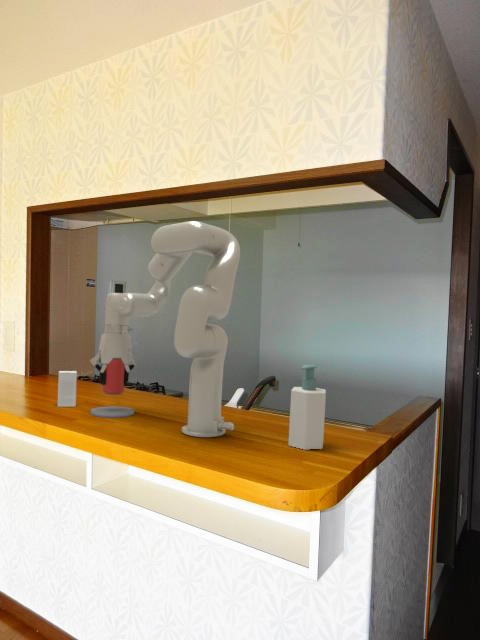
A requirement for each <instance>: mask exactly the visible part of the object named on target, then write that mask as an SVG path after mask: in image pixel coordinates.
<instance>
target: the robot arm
mask: <svg viewBox="0 0 480 640" xmlns="http://www.w3.org/2000/svg"><path fill="white" fill-rule="evenodd" d="M150 242H151V243H150V245H151V248H152V250H153V251H154V252H155V255H154V256H153V258H152V259H151V260H150V262H149V263H148V265H147V269H148V272H149V273H150V275H151V276H152V277H153V278H154V279H155V282H154V285H153V286H152V287H151V288H150V290H149V291H148V292H147V293H142V292H141V293H140V292H123V293H122V292H109V293H108V294H107V296H106V303H105V319H104V320H105V322H104V323H105V324H104V326H105V327H104V333H102V334H101V337H100V341H99V349H98V353H97V354H96V355H94V357H92V358H91V359H90V360H89V362H90V363H91V364H92V366H93V367H94V368H96V370H97V371H98V372H99V379H98V381H99V383H100V384H101V385H102V386H103V385H105V375H106V373H105V369H106V367H107V364H109V363H110V361H111V360H112V358H122V359H121V360H122V361H123V363H124V365H125V372H124V386H125V385H126V386H127V385H128V382H129V377H130V375H129V374H130V372H131V371H132V370H133V369H134V368H135V367H136V366H137V364H138V363H139V362H140V361H139V360H138V358H137V357H136V356H135V355H134V354H133V353H132V341H131V335H130V334H129V333H130V332H133V327H132V326H130V325H129V323H130V317H147V318H148V317H152V316H154V315H155V314H157V313H158V311H160V310H161V308H162V307H163V306H164V305H165V303H166V302H167V300H168V299H169V296H170V292H171V287H172V286H171V285H172V283H171V282H172V280H173V278H174V277H175V276H176V275H177V273H178V272H179V271H180V270H181V268H182V267H183V265H184V264H185V263H186V262H187V261H188V259H189V258H190V257H191V256H192V254H193V253H197V254H202V255H207V256H211V257H212V260H210V262H209V264H208V265H207V269H206V271H205V276H204V281H203V282H204V283H203V285H199V284H198V285H192V286H191V287H188V288H187V289H185V291H184V292H183V294H182V296H181V298H180V302H179V307H178V312H177V319H176V323H175V329H174V335H173V345H174V349H175V351H176V353H177V354H178V355H179V356H181V357H183V358H185V359H193V360H192V363H191V365H190V371H189V372H190V373H189V387H188V405H187V406H188V410H187V424H186V425H184V426H182V427H181V432H182V433H183V434H184V435H186V436H191V437H196V438H213V437H214V438H215V437H221V436H223V435H225V434H226V431H234V429H235V424H234V423H233V422H229V421H225V420H224V416H222V413H221V412H222V398H223V397H222V395H223V379H224V365H225V359H226V354H227V349H228V343H229V342H228V341H229V339H228V336H227V333H226V331H225V330H224V328H222V327H221V326H219V325H217V324H212V323H208V322H207V321H219V320H222V319H224V318H226V317H227V316H228V314H229V312H230V311H229V310H230V307H231V304H232V297H233V291H234V285H235V279H236V274H237V271H238V266H239V263H240V259H241V247H240V244H239V241H238V240H237V238H236V237H235V236H234V235H233V234H232V233H231V232H229V231H228V230H225V228H221V227H219V226H215V225H212V224H210V223H209V224H208V223H205V222H202V221H198V220H197V221H196V220H191V221H184V222H183V221H182V222H178V223H174V224H172V223H171V224H167V225H162V226H161V227H159V228H157V229H156V230H155V231H154V233H153V234H152V236H151V239H150ZM97 361H98V362H99V363H100V364H98V362H97Z"/></svg>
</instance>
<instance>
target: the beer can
mask: <svg viewBox="0 0 480 640" xmlns="http://www.w3.org/2000/svg"><path fill="white" fill-rule="evenodd" d="M121 359H122V358H112V360H111V361H110V363H109V364H107V367H106V369H105V373H106V375H105V385H102V386H103V389H102V392H103V393H104V394H105V395H112V396H113V395H114V396H115V395H118V396H119V395H122V394H123V393H124V387H125V384H124V372H125V365H124V363H123V361H122V360H121Z"/></svg>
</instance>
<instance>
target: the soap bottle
mask: <svg viewBox="0 0 480 640" xmlns="http://www.w3.org/2000/svg"><path fill="white" fill-rule="evenodd" d="M317 368H318V367H317V365H315V364H304V365H302V366H301V367H300V369H301V370H302V371H303V370H304V371H305V377H302V381H301V383H302V384H301V386H293V388H291V391H290V406H289V407H290V410H289V427H288V444H287V445H288V447H291V446H292V448H295V447H296V449H299V448H300V449H299V450H302V449H303V451H311V450H310V449H320V450H322V449H323V447H324V437H325V436H324V435H325V421H326V420H325V417H326V415H325V414H326V397H327V390H326V389H325V388H319V387H317V378H315V369H317Z"/></svg>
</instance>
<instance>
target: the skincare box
mask: <svg viewBox="0 0 480 640" xmlns="http://www.w3.org/2000/svg"><path fill="white" fill-rule="evenodd" d="M77 374H78V372H77V370H71V371H70V370H59V371H58V381H57V382H58V383H57V408H59V407H60V408H62V407H63V408H64V407H65V408H66V407H74V408H75V407H76V406H77V405H76V404H77V403H76V401H77Z"/></svg>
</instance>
